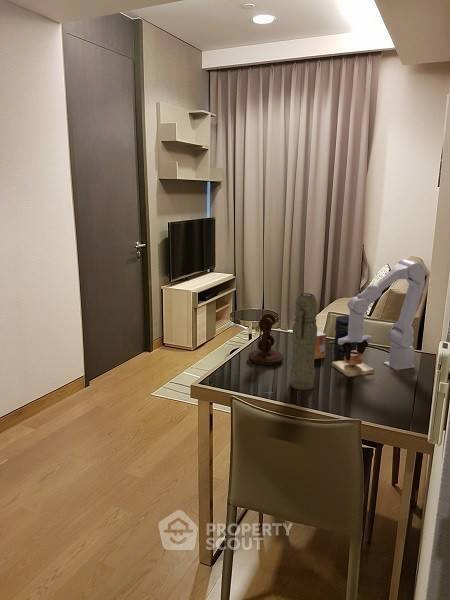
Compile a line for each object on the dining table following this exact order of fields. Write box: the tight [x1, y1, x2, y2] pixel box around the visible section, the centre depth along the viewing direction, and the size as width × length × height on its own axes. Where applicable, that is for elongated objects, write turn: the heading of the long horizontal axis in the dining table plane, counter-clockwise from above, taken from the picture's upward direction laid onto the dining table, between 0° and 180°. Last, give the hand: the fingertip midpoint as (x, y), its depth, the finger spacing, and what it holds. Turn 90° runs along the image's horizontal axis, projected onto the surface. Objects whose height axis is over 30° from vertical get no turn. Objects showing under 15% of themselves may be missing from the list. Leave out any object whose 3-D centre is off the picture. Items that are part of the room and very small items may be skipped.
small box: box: [314, 330, 327, 360], centre depth 202 cm, size 8×6×10 cm
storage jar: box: [333, 315, 357, 355], centre depth 209 cm, size 10×10×15 cm
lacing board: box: [331, 354, 375, 378], centre depth 190 cm, size 12×12×6 cm
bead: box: [343, 349, 364, 365], centre depth 189 cm, size 5×5×4 cm
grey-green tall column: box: [289, 292, 318, 391], centre depth 171 cm, size 9×12×35 cm
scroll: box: [248, 313, 284, 368], centre depth 196 cm, size 15×15×20 cm
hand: (353, 359), depth 189 cm, fingers closed on bead, 5 cm apart
